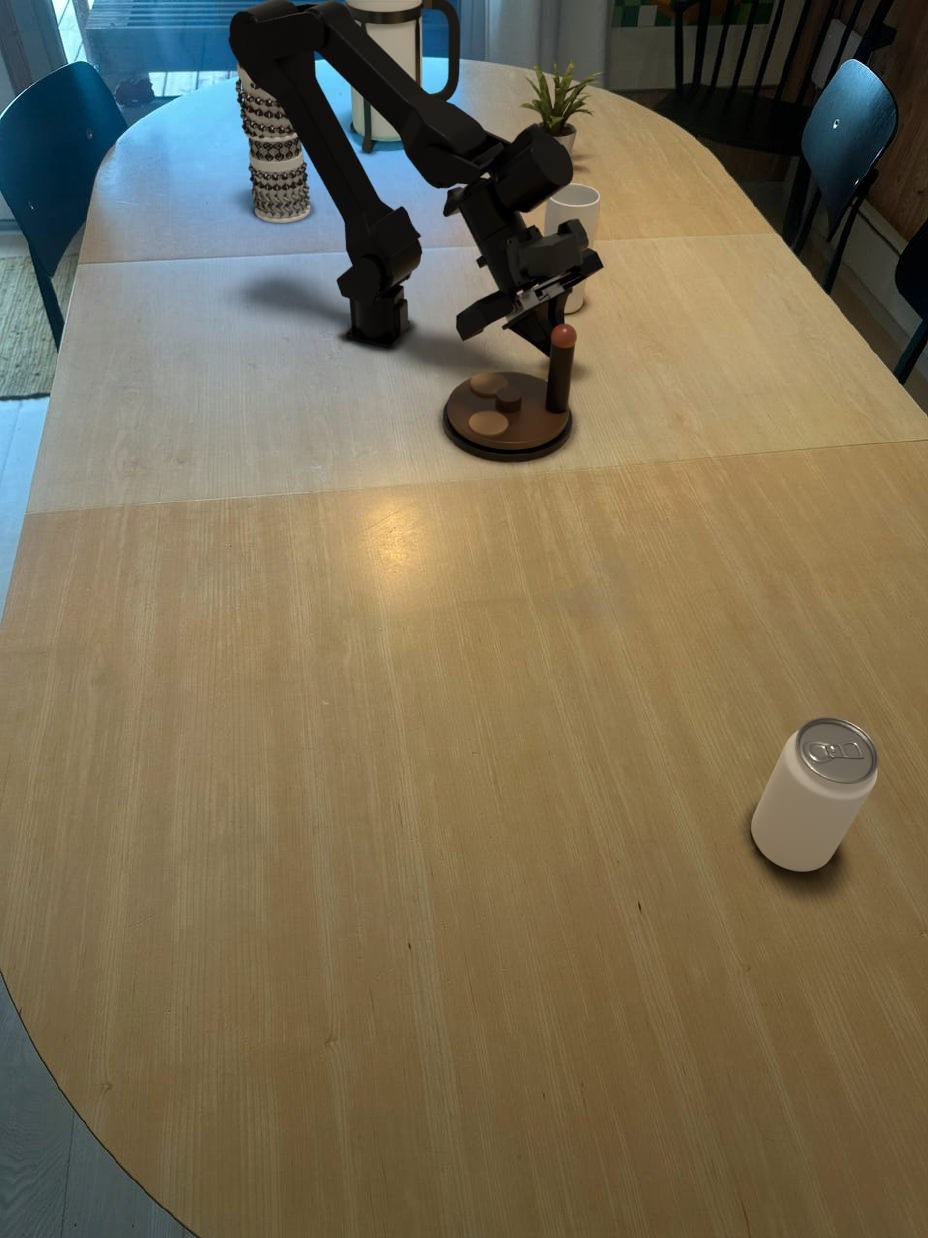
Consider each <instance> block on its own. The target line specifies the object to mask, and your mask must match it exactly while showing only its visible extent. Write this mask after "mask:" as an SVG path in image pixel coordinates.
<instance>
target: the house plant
mask: <svg viewBox="0 0 928 1238" xmlns="http://www.w3.org/2000/svg"><path fill="white" fill-rule="evenodd" d="M552 59H553V69H554V77H552V79H553V82H554V104H553V103H552V99H551V94H550V89H549V85H548V82H547V78H546V76H545V74H544V73H543V72H542V70H541V69H540V68H539V65H537V64H536V63H535V62H533V61H531V64H532V67H533V69H534V71H535V74H536V78H537V81H538V85H539V87H537V86H536V84H535V83H534V82H533V81H532V80H531V79H530V78H529V77H527V76H525V75H524V76H523V77H524V78H525V79H526V81H527V82H529V84H530V85H531V87H532V89H533V90H534V91H535V92H536V94H537V95H538V98H539V99H532V100H531V103H532V104H531V103H529V102H525V103H522V104H521V105H519V106H518V107H517V108H518V109H519V108H524V109H529V110H533V111H535V112H537V113H538V114H539V115H540V117H541V119H542V121H540V122H536V124H537V125H538V127H539V129H540V130H541V132H542V133H547V134H549V135H551V136H553V137H554V138H555V139H556V140H558V142H559V143H560V144H563V145H564V146H565V148H566V149H567V151H568V153H569V155H570V157H572V151H573V149H574V148H573V147H574V145H575V141H576V136H577V131H578V129H577V128H576V127H577V126H575V125H574V124H572V123H573V121H571V122H568V120H569V119H570V117H571V116H572V115H574V114H576V113H580V116H582V115H583V114H587V115H591V117H594V115H593V113H594V110H588V109H585V108H581V107H584V106H585V105H587V106H588V105H589V104H588V103H586V102H584V100H586V99H587V98H589V97H592V96H593V94H589V92H586V91H585V92H584V91H583V90H584V88H586V87H587V86H588V85H591V84H604V82H601V81H596V80H598V78H595V77H596V76H597V75H600V74H603V73H604V72H605V70H603V71H598V72H595V73H592V74H590V75H589V76H587V77H586V78H584V79H583V80H582V81H581V82H580V83H578V84H576V85H573V86H571V83H572V81H573V79H574V78H573V76H574V75H573V73H574V68H575V63H576V61H574V62H573V58H571V59H570V60H569V63H568V67H567V69H566V70H565V72H564V74H563V76H562V79H561V80H560V74H559V70H558V65H557V63H556V61H555V58H552ZM572 90H573V91H572ZM571 91H572V92H571ZM582 91H583V92H582ZM569 92H571V94H570V95H569V96H568V97H567V98H566V96H567V94H568V93H569ZM580 95H584V96H582V97H581V98H579V96H580ZM576 100H577V101H576ZM576 119H578V117H576V118H575V120H576Z"/></svg>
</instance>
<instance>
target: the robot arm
mask: <svg viewBox="0 0 928 1238" xmlns="http://www.w3.org/2000/svg"><path fill="white" fill-rule="evenodd" d="M229 24H230V25H229V26H228V27H229V36H228V39H227V40H228V41H227V42H228V44H229V47H230V49H231V52H232V54H233V56H234V57H235V59H236V60H237V63H238V62H239V63H240V65H241V66H242V67H243V69H244V70H245V72H246V73H247V75H248V76H249V77H250V79H251V80H252V82H253V83H254V84H256V85H257V86H258V87H260V88H261V89H263V90H264V91H265V92H267V93H268V94H269V95H271V96H272V97H273V98H275V99H276V100H277V101H278V102H279V104H280V105H281V107H282V109H283V110H284V112H285V114H286V116H287V118H288V120H289V121H290V123H291V125H292V127H293V129H294V131H295V132H296V134H297V136H298V138H299V140H300V141H301V146H302V147H303V150H304V151H305V152H306V154H307V156H308V158H309V160H310V161H311V163H312V165H313V167H314V169H315V171H316V173H317V174H318V176H319V178H320V180H321V181H322V183H323V185H324V187H325V189H326V191H327V192H328V195H329V196H330V198H331V200H332V201H333V204H334V205H335V207H336V209H337V210H338V213H339V214H340V216H341V218H342V221H343V223H344V237H345V239H344V240H345V241H344V242H345V251H346V253H347V256H348V258H349V261H350V263H351V265H352V266H350V267H349V268H348V269H346V271H344V272H343V273H342V274H341V275H339V277H337V278H336V284H337V287H338V290H339V293H340V296H341V297H343V298H346V299H349V300H348V301H349V316H350V328H349V329H348V330H347V332H346V333H345V338H346V339H347V340H348V339H349V340H352V341H356V342H362V343H366V344H368V345H369V344H370V345H374V346H378V347H382V348H387V349H391V348H393V347H394V346H395V344H397V342H398V341H399V340H400V339H401V337H403V335H404V334H405V333H406V332H407V330H408V329H409V327H410V326H411V321H410V320H409V301H408V299H407V298H405V286H404V285H401V284H403V283H404V282H405V281H409V279H411V276H412V274H413V272H414V271H415V270H416V269H417V268H418V267H419V266H420V264H421V260H422V255H423V248H422V245H421V242H420V240H419V239H420V238H421V237H422V235H421V233H420V232H419V231H418V230H417V229H416V228H415V225H413V222H412V220H411V217H410V215H409V212H408V210H407V209H406V208H405V207H404V206H403V205H401V206H399V207H397V208H396V209H393V208H392V207H391V206H389V205H388V204H387V203H385V202H384V201H383V200H381V198H380V196H379V195H378V193H377V191H376V189H375V187H374V185H373V183H372V181H371V180H370V178H369V176H368V174H367V172H366V170H365V168H364V166H363V165H362V163H361V161H360V159H359V157H358V155H357V153H356V151H355V150H354V149H355V148H354V147H353V145H352V144H351V142H350V140H349V138H348V136H347V134H346V132H345V130H344V129H343V126H342V125H341V123H340V121H339V119H338V117H337V115H336V113H335V112H334V109H333V108H332V106H331V103H330V102H329V100H328V98H327V96H326V94H325V92H324V90H323V89H322V87H321V85H320V83H319V80H318V78H317V72H316V69H317V68H316V54H315V52H316V53H317V54H319V56H320V57H321V58H323V60H324V61H326V62H327V63H328V65H330V66H331V67H332V68H333V69H334V71H336V72H337V73H338V74H339V75H340V76H341V77H342V78H343V79H344V80H345V81H346V83H348V84H349V86H350V87H351V86H352V87H353V88H354V89H355V90H356V91H357V92H358V93H359V94H360V95H361V96H362V97H363V98H364V99H365V100H366V101H367V102H368V103H369V104H370V105H371V106H372V107H373V108H374V109H375V110H376V111H377V112H378V113H379V114H380V115H381V116H382V117H383V118H384V119H385V120H386V121H387V122H388V123H389V124H390V125H391V126H392V127H393V128H394V129H395V130H396V132H397V133H398V134H399V136H400V138H401V140H400V141H401V144H402V148H403V150H404V154H405V156H406V158H407V159H408V160H409V162H410V163H411V164H412V165H413V167H414V168H415V169H416V171H417V172H418V173H419V175H420V176H421V178H423V179H424V181H425V182H426V183H427V184H428V185H429V186H431V187H433V188H434V189H436V190H440V189H448V190H447V191H446V201H445V202H444V205H443V209H442V215H443V217H445V218H449V217H451V216H455V215H457V214H460V215H461V217H462V219H463V221H464V223H465V225H466V227H467V229H468V230H469V233H470V235H471V237H472V240H473V241H474V243H475V245H476V246H477V249H478V251H479V254H480V256H479V257H478V258H476V259H475V262H476V264H477V266H478V268H479V269H483V268H484V267H487V269H488V271H489V273H490V275H491V277H492V279H493V281H494V283H495V285H496V287H497V289H498V290H496V291H494V292H491V293H490V294H488V295H486V296H483V297H481V298H479V299H478V300H476V301H475V302H473V303H471V304H470V305H469V306H467V307H466V308H465V309H463V310H461V311H460V312H459V313H458V314H456V317H455V318H456V319H455V329H456V331H457V333H458V335H459V337H460V339H461V342H463V343H464V342H466V341H467V340H469V339H472V338H474V337H476V336H478V335H480V334H482V333H483V332H484V330H485V328H487V327H489V325H491V324H493V323H495V322H497V321H500V320H502V319H503V318H505V319H506V321H507V323H505V324H503V325H501V329H502V330H503V331H506V330H510V331H511V332H512V333H514V334H516V335H517V336H519V337H520V338H522V339H523V340H525V341H526V342H528V343H529V344H531V345H532V346H534V347H535V348H536V349H537V350H539V351H540V352H541V353H542V354H544V355H545V356H546V357H547V358H548V359H550V350H551V333H552V331H553V329H554V328H555V327H556V326H558V325H560V324H566V321H565V320H566V319H565V317H566V316H565V313H564V309H565V305H566V302H567V299H568V296H569V294H571V293H572V292H573V287H574V286H575V285H577V284H579V283H580V282H582V281H583V280H585V279H588V278H590V277H592V276H593V275H594V274H597V273H598V272H599V271H601V270H602V269H604V268H605V265H604V264H603V262H602V260H601V257H600V256H599V255H600V254H599V253H598V251H596V250H594V249H593V250H592V249H590V248H587V247H588V245H589V240H588V237H587V233H586V231H585V229H584V227H583V226H582V224H581V222H580V220H579V219H570V220H568V221H565V222H563V223H561V224H559V225H558V231H557V233H555V234H552V235H550V236H545V237H544V235H543V234H542V232H541V230H540V228H539V227H537V226H536V224H532V225H531V226H527V224H526V222H525V220H524V218H523V216H522V214H529V213H532V212H533V211H535V210H536V209H537V208H539V207H540V206H541V205H543V204H544V203H545V202H546V201H547V200H548V199H549V198H551V197H552V196H553V195H555V194H556V193H558V192H559V191H560V190H562V189H563V188H564V187H566V186H567V185H569V184H570V183H572V181H573V178H574V163H573V160H572V158H571V157H572V156H570V155H569V153H568V151H567V149H566V148H565V146H564V145H563V144H560V143H559V142H558V140H556V139H555V138H554V137H553V136H551V135H549V134H547V133H542V132H541V130H540V129H539V127H538V125H537V122H536V123H535V122H533V123H532V124H530V125H529V126H527V127H525V128H524V129H523V130H522V131H521V132H519V133H518V134H517V135H516V136H515V139H514V140H513V141H509V140H507V139H505V138H503V137H501V136H499V135H497V134H494V133H492V132H490V131H488V130H486V129H485V128H484V127H483V126H482V124H481V123H480V122H479V121H477V120H476V119H475V118H474V117H473V116H471V115H470V114H468V113H467V112H466V111H464V110H463V109H462V108H460V107H459V106H458V105H456V104H454V103H452V102H449V101H444V100H441V99H438V98H435V97H433V96H432V95H430V94H431V93H430V92H428V91H427V90H425V89H424V88H423V86H422V87H421V86H420V85H419V84H418V83H417V82H416V81H415V80H414V79H413V78H412V77H411V76H410V75H409V74H408V73H407V72H406V71H405V70H404V69H403V68H402V67H401V66H400V65H399V64H398V63H397V62H396V61H395V60H394V59H392V58H391V57H390V56H389V55H388V54H387V53H386V52H385V51H384V50H383V49H382V48H381V47H380V46H379V45H378V44H377V43H376V42H375V41H374V40H373V39H372V38H371V37H370V36H369V35H368V34H367V33H366V32H365V31H364V30H363V29H362V28H361V27H360V26H359V25H358V24H357V23H356V22H355V21H354V20H353V19H352V17H351V15H350V12H349V10H348V9H347V8H346V6H345V5H344V3H343V2H340V1H337V0H327V1H324V2H308V3H301V4H294V2H292V1H288V0H267V1H263V2H261V3H258V4H255V5H253V6H251V7H248V8H245V9H243V10H240V11H238V12H237V13H235V14H234V15H233V16H232V17H231V20H230V23H229ZM486 174H488V176H489V177H484V176H485V175H486ZM456 185H465V186H464V187H462V186H456ZM454 186H456V187H454ZM452 187H453V188H452ZM586 248H587V249H586ZM518 293H519V294H518Z"/></svg>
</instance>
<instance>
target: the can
mask: <svg viewBox="0 0 928 1238" xmlns="http://www.w3.org/2000/svg"><path fill="white" fill-rule="evenodd" d="M879 754H880V753H879V750H878V748H877V745H876V743H875V742H874V740H873V738H872V737H870V735H869V734H868V733H867V732H866V731H865V730H864V729H863V728H861V727H859V726H858V725H856V724H855V723H853V722H850V721H849V720H846V719H843V718H839V717H834V716H819V717H815V718H811V719H810V720H808V721H806V722H805V723H803V724H802V725H801V726H800V728H799V729H797V730H796V731H794V732H793V733H792V734H791V736H790V737H789V738H788V740H787V741H786V743H785V745H784V747H783V749H782V751H781V753H780V756H779V757H778V760H777V762H776V764H775V767H774V768H773V770H772V773H771V775H770V777H769V780H768V782H767V784H766V785H765V788H764V790H763V793H762V795H761V797H760V799H759V802H758V804H757V806H756V808H755V811H754V813H753V816H752V820H751V823H750V830H751V835H752V839H753V840H754V842H755V845H756V846H757V848H758V849H759V851H760V852H761V854H763V855H764V856H765V858H767V860H769V861H771V862H772V863H773V864H775V865H777V866H779V867H781V868H783V869H786V870H789V871H793V872H812V871H815V870H818V869H820V868H822V867H823V866H825V865H826V864H827V863H828V862H829V861H830V860H831V859H832V857H833V856H834V854H835V853H836V851H837V849H838V848H839V846H840V844H841V843H842V841H843V840H844V838H845V836H846V834H847V833H848V832H849V829H850V828H851V826H852V824H853V823H854V821H855V820H856V818H857V817H858V815H859V813H860V811H861V809H862V808H863V806H864V804H865V802H866V801H867V799H868V798H869V796H870V794H871V793H872V792H873V791H872V790H873V789H874V787H875V785H876V782H877V778H878V767H879V762H880V756H879Z"/></svg>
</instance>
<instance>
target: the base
mask: <svg viewBox="0 0 928 1238" xmlns="http://www.w3.org/2000/svg"><path fill="white" fill-rule="evenodd" d="M447 404H448V400H447V401H446V402H445V405H444V407H443V410H442V411H443V413H442V426H443V429H444V432H445V434H446V435H447V437H448V438H449V439H450V441H451V442H452V443H453V444H454V445H455V446H457V447H458V448H459V449H460V450H462V451H463V452H466V453H467V454H470V455H473V456H474V457H477V458H480V459H484V460H488V461H493V462H501V463H522V462H529V461H534V460H538V459H540V458H545V457H546V456H548V455H551V454H552V453H554V452H556V451H557V450H559V449H560V448H562V447H563V445H564V444H565V443H566V442H567V441H568V439H569V438H570V436H571V433H572V430H573V429H572V428H573V421H574V420H573V414H572V410H571V408H570V407H569V419H568V423H567V425H566V427H565V429H564V430H563V431H562V433H561V434H559V435H558V436H557V437H556V438H554V439H553V440H551V441H549V442H547V443H545V444H543V445H540V446H537V447H533V448H528V449H520V450H503V449H495V448H490V447H486V446H482V445H479V444H476V443H474V442H472V441H470V440H468V439H466V438H465V437H463V436H462V435H461V434H459V433H458V432H457V431H456V430H455V429H454V428H453V426H452V425H451V423H450V421H449V418H448V414H447Z"/></svg>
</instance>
